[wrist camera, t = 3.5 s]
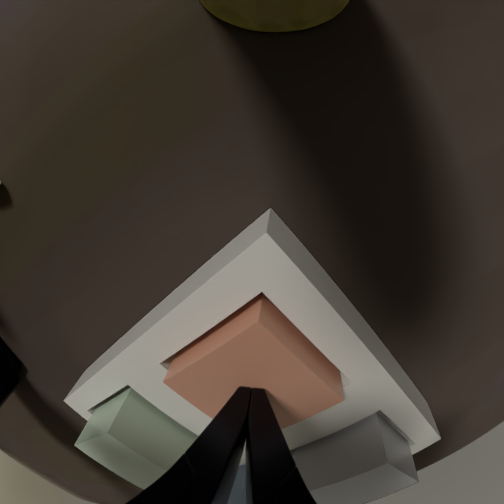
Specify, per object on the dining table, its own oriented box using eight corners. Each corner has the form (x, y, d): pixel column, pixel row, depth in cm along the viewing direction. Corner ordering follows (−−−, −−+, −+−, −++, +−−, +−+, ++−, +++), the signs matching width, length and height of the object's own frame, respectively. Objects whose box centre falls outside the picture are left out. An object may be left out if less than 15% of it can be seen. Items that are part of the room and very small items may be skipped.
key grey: (294, 447, 12) (293, 495, 9) (375, 410, 10) (387, 462, 8) (338, 471, 13) (341, 510, 10) (408, 440, 11) (418, 482, 9)
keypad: (86, 369, 15) (63, 400, 12) (270, 207, 10) (266, 232, 8) (246, 477, 18) (242, 507, 15) (427, 402, 14) (441, 438, 11)
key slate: (195, 474, 14) (186, 509, 11) (247, 462, 13) (241, 505, 10) (243, 496, 15) (238, 528, 12) (295, 485, 14) (293, 521, 11)
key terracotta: (184, 335, 12) (162, 381, 9) (264, 275, 10) (258, 321, 8) (254, 394, 13) (248, 441, 10) (334, 349, 11) (344, 400, 9)
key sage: (95, 408, 12) (74, 445, 10) (132, 386, 11) (107, 432, 9) (156, 452, 13) (142, 489, 11) (204, 438, 12) (192, 484, 9)
